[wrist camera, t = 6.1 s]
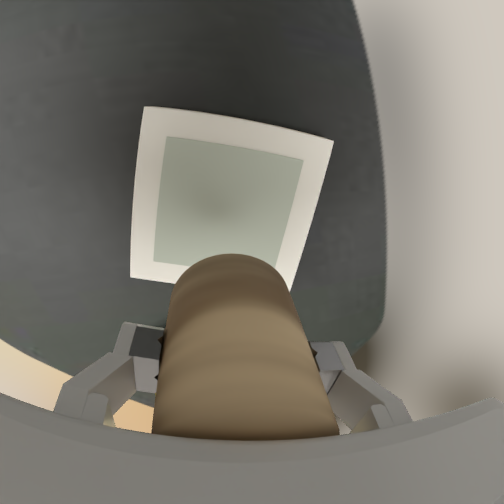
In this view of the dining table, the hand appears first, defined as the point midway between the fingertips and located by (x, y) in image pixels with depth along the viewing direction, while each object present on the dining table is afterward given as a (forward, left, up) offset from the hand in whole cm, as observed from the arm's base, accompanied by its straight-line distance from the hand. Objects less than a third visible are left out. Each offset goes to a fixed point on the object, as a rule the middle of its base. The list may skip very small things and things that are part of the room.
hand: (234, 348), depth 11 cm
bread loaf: (0, 0, -3) cm, 3 cm away
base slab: (0, 0, -16) cm, 16 cm away
